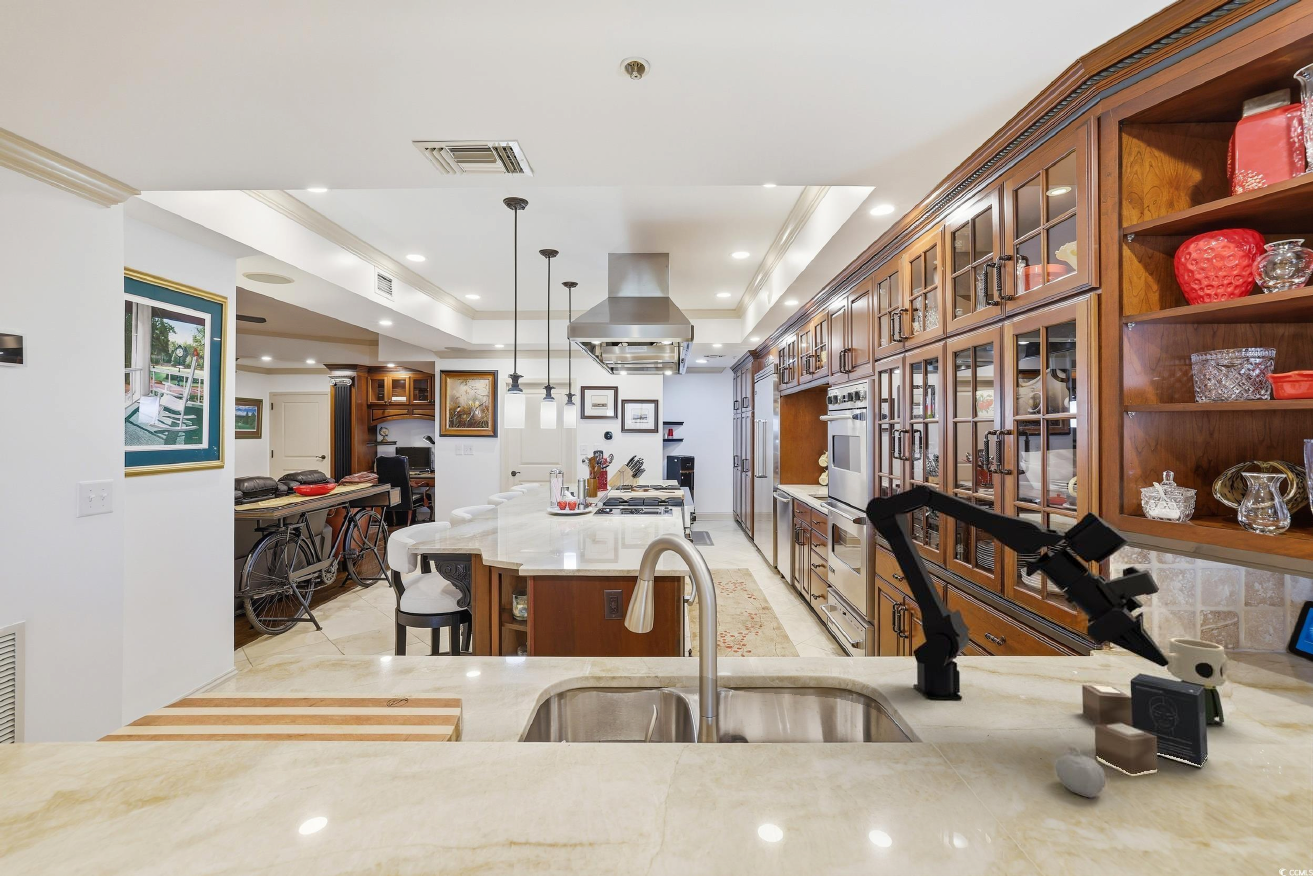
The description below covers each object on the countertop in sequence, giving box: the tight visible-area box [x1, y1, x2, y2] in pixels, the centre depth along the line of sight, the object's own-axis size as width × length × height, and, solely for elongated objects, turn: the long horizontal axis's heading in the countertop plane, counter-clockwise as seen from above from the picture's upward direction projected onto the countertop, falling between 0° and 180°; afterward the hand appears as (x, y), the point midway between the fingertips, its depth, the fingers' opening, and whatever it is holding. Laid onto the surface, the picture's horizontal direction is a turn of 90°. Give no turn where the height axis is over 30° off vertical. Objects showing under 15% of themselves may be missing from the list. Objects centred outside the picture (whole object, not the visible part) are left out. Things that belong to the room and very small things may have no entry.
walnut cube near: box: [1094, 722, 1159, 774], centre depth 84 cm, size 5×5×5 cm
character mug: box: [1165, 637, 1228, 724], centre depth 101 cm, size 11×7×13 cm, turn 94°
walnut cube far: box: [1081, 684, 1132, 727], centre depth 100 cm, size 5×5×5 cm
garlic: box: [1055, 745, 1107, 798], centre depth 77 cm, size 6×5×5 cm
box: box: [1130, 672, 1209, 766], centre depth 88 cm, size 8×6×11 cm
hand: (1166, 664), depth 89 cm, fingers closed
